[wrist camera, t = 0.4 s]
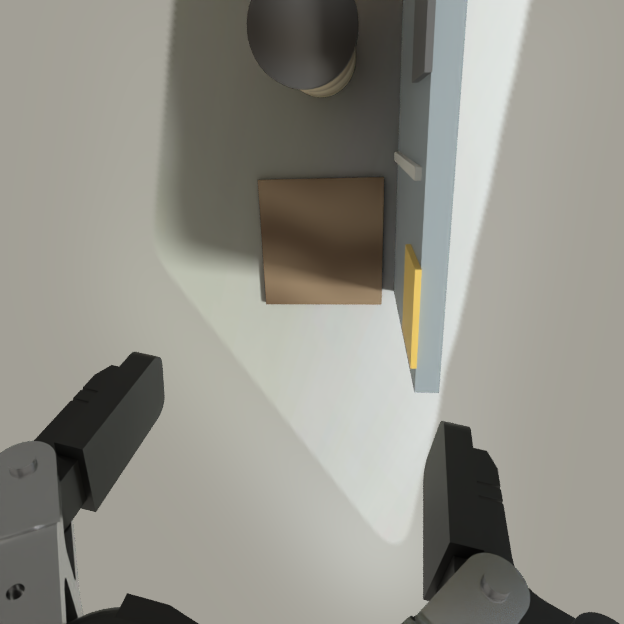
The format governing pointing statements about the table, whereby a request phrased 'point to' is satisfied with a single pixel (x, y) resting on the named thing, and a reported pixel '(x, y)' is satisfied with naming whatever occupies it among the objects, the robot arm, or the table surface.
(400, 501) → the table surface
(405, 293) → the panel
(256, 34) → the post
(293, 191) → the walnut pad
